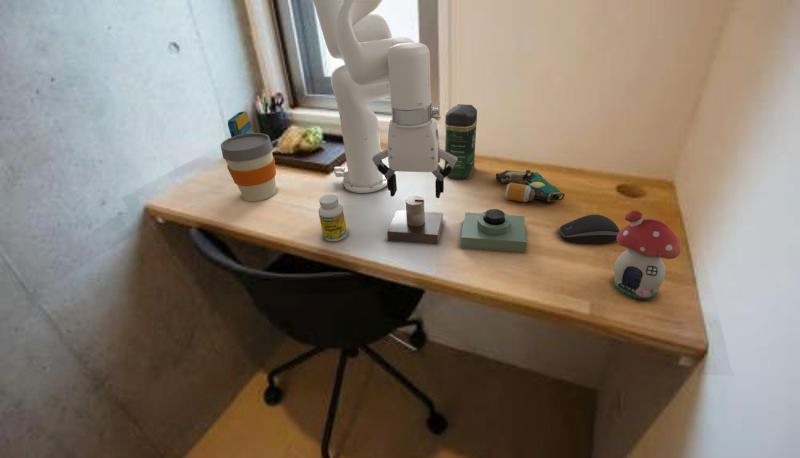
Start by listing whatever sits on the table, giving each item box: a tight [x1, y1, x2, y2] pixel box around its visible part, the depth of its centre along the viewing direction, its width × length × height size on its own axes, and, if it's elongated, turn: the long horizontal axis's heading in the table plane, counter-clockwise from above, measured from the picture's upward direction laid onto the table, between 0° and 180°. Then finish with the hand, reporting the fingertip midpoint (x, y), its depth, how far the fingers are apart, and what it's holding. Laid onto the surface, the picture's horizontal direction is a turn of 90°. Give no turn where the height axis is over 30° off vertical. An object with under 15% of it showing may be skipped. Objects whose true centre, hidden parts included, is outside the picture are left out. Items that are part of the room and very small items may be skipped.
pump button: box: [484, 208, 505, 225], centre depth 87 cm, size 4×4×2 cm
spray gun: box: [495, 168, 565, 203], centre depth 105 cm, size 4×17×15 cm
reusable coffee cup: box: [220, 132, 277, 202], centre depth 109 cm, size 13×13×15 cm
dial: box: [405, 195, 426, 227], centre depth 90 cm, size 4×4×6 cm
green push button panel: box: [460, 211, 527, 253], centre depth 89 cm, size 13×10×4 cm
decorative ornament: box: [613, 210, 681, 301], centre depth 70 cm, size 9×6×15 cm
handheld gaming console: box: [227, 111, 255, 138], centre depth 127 cm, size 10×4×15 cm, turn 174°
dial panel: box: [386, 209, 444, 245], centre depth 93 cm, size 11×9×2 cm
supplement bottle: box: [318, 193, 348, 242], centre depth 91 cm, size 5×5×10 cm
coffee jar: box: [444, 103, 478, 180], centre depth 112 cm, size 10×8×19 cm
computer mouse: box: [559, 214, 621, 245], centre depth 87 cm, size 7×12×4 cm, turn 88°
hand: (415, 194), depth 88 cm, fingers open, 9 cm apart
